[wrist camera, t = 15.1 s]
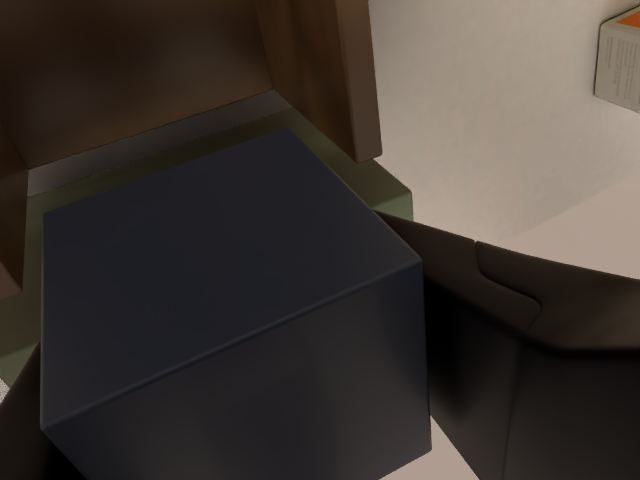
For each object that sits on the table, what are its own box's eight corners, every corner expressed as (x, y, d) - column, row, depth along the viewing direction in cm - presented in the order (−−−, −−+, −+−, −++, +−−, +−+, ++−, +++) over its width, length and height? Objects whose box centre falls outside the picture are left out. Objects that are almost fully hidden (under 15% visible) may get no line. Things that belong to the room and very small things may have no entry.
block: (326, 295, 11) (433, 451, 8) (142, 376, 10) (184, 587, 7) (289, 125, 8) (424, 257, 5) (40, 212, 8) (37, 430, 5)
